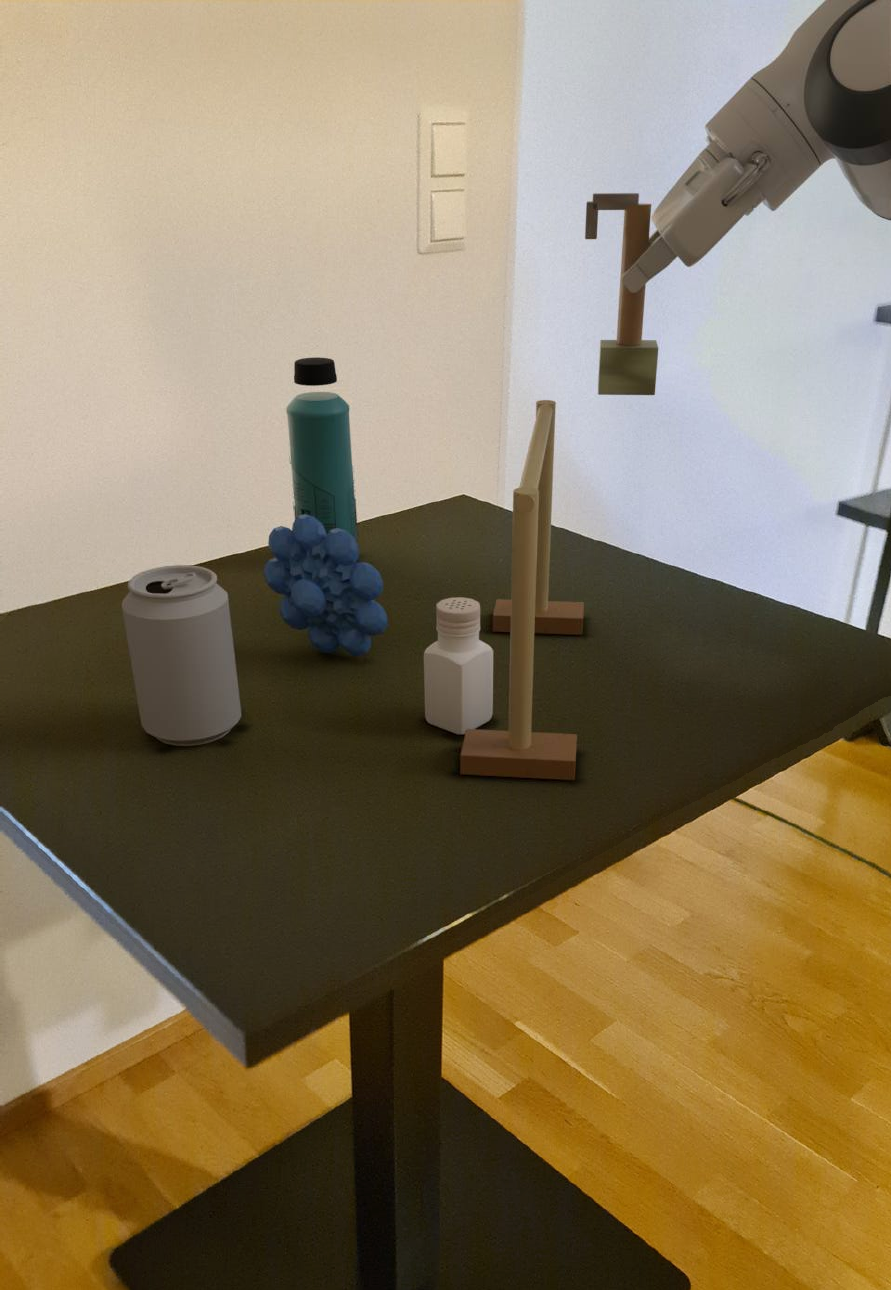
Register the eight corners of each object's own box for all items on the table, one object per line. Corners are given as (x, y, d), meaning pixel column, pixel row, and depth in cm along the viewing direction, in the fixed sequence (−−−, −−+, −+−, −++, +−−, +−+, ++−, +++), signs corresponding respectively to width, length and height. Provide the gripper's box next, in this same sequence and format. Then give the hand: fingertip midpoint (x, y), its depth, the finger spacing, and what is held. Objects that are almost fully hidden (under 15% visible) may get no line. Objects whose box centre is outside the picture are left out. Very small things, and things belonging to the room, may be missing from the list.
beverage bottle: (371, 555, 120) (362, 356, 110) (333, 573, 115) (320, 367, 105) (322, 545, 123) (309, 350, 113) (283, 562, 118) (266, 361, 108)
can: (136, 715, 88) (111, 567, 82) (232, 699, 90) (214, 554, 84) (150, 758, 82) (124, 602, 76) (252, 740, 84) (235, 587, 78)
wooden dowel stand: (583, 618, 104) (595, 397, 94) (574, 780, 79) (589, 501, 69) (496, 615, 105) (499, 396, 95) (460, 774, 79) (459, 498, 69)
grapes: (244, 660, 97) (228, 523, 91) (287, 632, 102) (275, 500, 96) (363, 684, 92) (355, 541, 86) (401, 653, 98) (396, 517, 91)
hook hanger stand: (652, 386, 104) (667, 191, 96) (654, 395, 100) (670, 194, 92) (578, 385, 104) (587, 192, 96) (577, 394, 101) (586, 195, 93)
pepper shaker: (462, 739, 84) (461, 619, 79) (422, 724, 86) (419, 606, 81) (495, 720, 87) (497, 603, 82) (455, 705, 89) (455, 590, 84)
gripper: (799, 190, 84) (655, 330, 90) (763, 179, 102) (645, 296, 107) (745, 121, 82) (602, 269, 88) (718, 122, 100) (600, 245, 106)
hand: (625, 284), depth 98 cm, fingers closed on hook hanger stand, 2 cm apart
